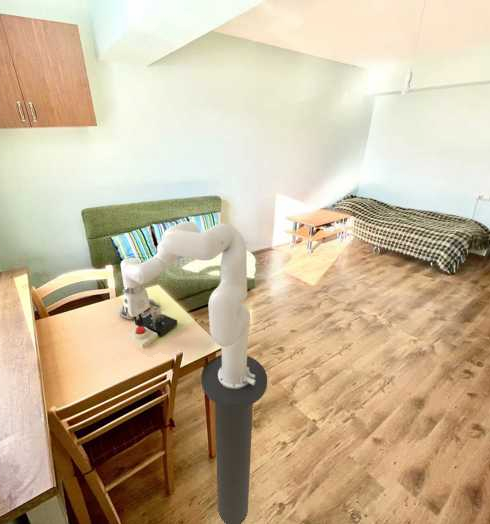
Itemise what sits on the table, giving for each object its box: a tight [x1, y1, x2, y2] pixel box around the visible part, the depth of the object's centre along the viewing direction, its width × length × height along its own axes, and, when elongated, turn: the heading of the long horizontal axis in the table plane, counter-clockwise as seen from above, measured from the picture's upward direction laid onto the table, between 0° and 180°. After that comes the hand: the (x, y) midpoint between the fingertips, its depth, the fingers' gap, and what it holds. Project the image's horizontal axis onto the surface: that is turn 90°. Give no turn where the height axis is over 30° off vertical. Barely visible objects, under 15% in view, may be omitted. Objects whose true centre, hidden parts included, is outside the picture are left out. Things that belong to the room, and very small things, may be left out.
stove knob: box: [151, 308, 162, 324], centre depth 130 cm, size 4×4×5 cm
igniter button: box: [135, 326, 145, 334], centre depth 121 cm, size 4×4×2 cm
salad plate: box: [119, 298, 161, 320], centre depth 143 cm, size 19×18×5 cm
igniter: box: [124, 327, 159, 349], centre depth 122 cm, size 11×9×4 cm
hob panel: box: [137, 313, 178, 338], centre depth 132 cm, size 15×11×3 cm
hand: (139, 324), depth 120 cm, fingers closed
